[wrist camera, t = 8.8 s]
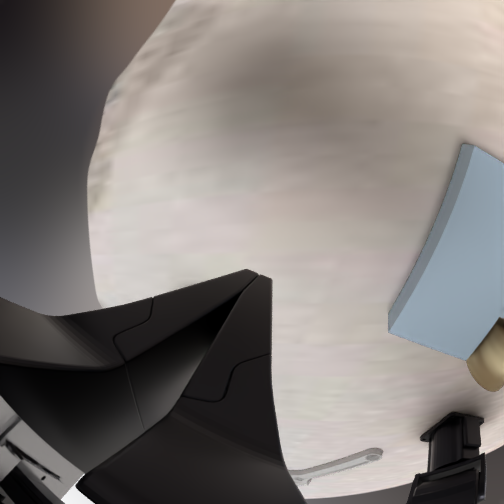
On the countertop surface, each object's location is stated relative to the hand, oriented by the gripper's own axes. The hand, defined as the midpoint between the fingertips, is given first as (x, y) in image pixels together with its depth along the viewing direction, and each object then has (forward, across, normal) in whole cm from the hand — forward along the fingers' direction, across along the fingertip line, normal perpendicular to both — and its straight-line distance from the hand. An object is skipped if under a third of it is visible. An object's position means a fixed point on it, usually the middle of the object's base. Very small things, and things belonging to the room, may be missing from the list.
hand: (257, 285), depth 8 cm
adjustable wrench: (+13, -17, +40) cm, 45 cm away
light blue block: (+12, -15, 0) cm, 19 cm away
